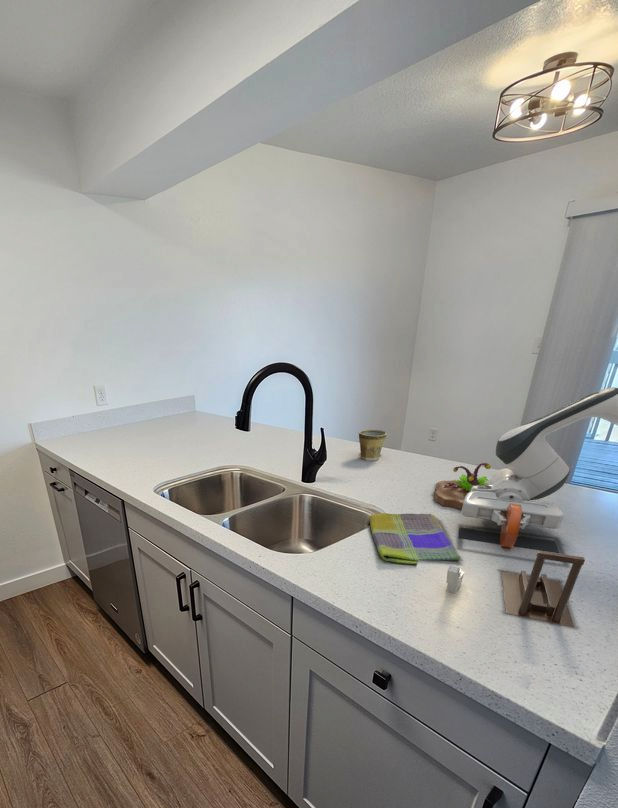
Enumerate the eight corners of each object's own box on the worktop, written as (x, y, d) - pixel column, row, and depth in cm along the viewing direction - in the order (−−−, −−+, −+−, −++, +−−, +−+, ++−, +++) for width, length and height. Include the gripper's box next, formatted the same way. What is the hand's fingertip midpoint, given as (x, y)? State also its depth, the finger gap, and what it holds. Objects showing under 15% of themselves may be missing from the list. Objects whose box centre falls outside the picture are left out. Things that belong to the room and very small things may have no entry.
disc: (508, 536, 106) (519, 498, 101) (511, 555, 98) (523, 515, 93) (498, 535, 106) (509, 497, 102) (501, 553, 99) (512, 513, 94)
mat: (554, 542, 103) (555, 540, 103) (564, 571, 92) (565, 568, 92) (459, 529, 112) (459, 527, 111) (458, 554, 101) (458, 551, 100)
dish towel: (376, 563, 99) (378, 552, 98) (368, 519, 120) (369, 510, 119) (461, 568, 95) (463, 557, 94) (436, 522, 116) (438, 512, 115)
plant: (510, 517, 117) (521, 477, 111) (430, 506, 125) (437, 469, 120) (507, 492, 132) (517, 456, 127) (436, 484, 141) (443, 450, 136)
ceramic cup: (383, 462, 163) (386, 436, 158) (355, 461, 166) (357, 435, 162) (384, 453, 173) (387, 428, 169) (357, 452, 177) (360, 427, 172)
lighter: (450, 586, 89) (458, 552, 86) (459, 589, 88) (468, 555, 85) (440, 602, 85) (448, 567, 81) (449, 606, 84) (458, 570, 80)
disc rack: (557, 586, 87) (580, 523, 81) (572, 633, 75) (600, 563, 69) (499, 575, 92) (517, 516, 85) (504, 618, 79) (525, 552, 73)
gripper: (553, 519, 107) (563, 545, 96) (460, 507, 115) (458, 529, 105) (562, 495, 104) (573, 519, 93) (465, 484, 112) (464, 505, 102)
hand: (511, 524), depth 99 cm, fingers closed
